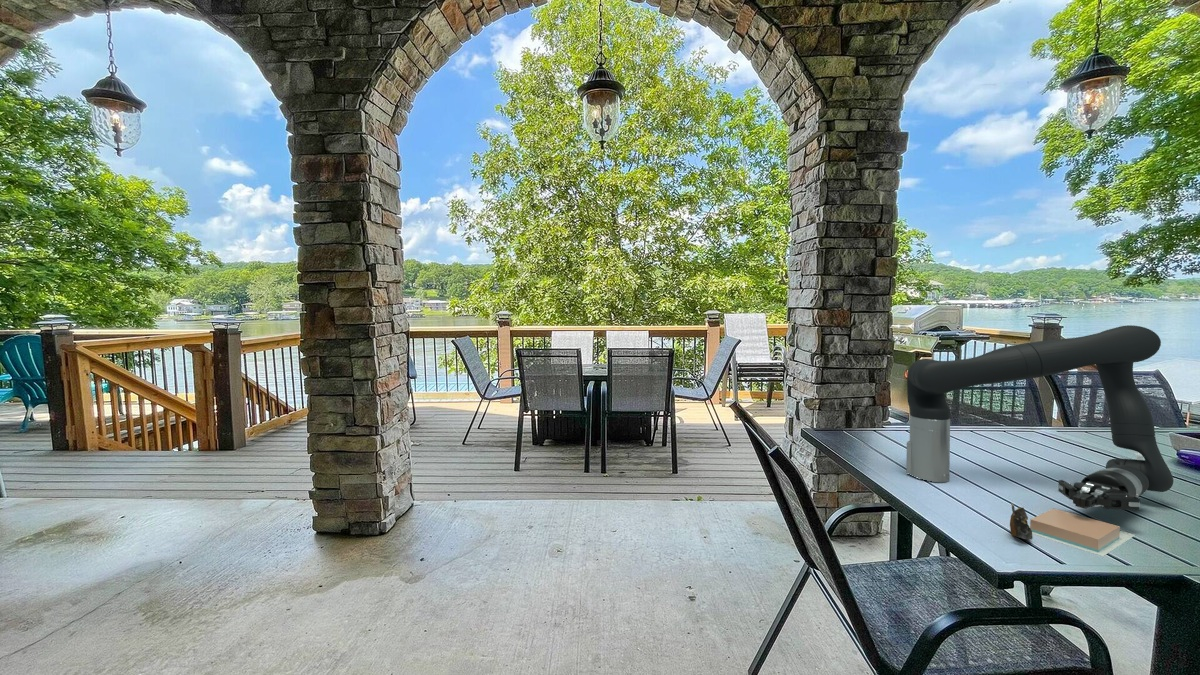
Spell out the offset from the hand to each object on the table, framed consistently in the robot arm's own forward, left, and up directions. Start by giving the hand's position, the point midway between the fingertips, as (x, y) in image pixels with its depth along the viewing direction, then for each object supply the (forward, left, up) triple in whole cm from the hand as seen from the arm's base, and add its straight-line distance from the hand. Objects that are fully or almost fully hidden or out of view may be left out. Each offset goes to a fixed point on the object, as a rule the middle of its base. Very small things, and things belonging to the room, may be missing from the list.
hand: (1080, 502), depth 95 cm
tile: (+1, +3, -5) cm, 6 cm away
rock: (-6, -14, -7) cm, 17 cm away
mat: (0, -1, -6) cm, 7 cm away
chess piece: (+5, +61, -7) cm, 61 cm away
